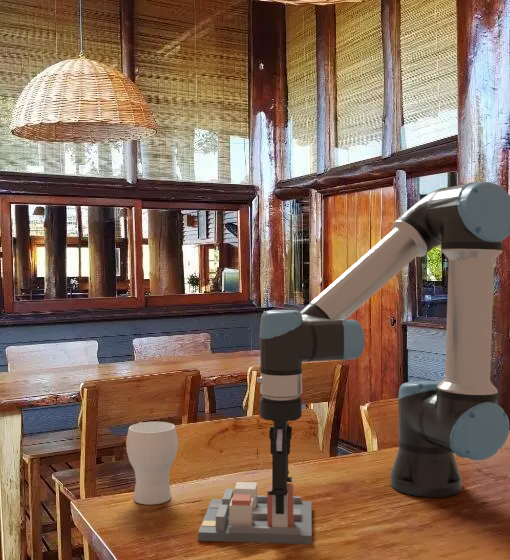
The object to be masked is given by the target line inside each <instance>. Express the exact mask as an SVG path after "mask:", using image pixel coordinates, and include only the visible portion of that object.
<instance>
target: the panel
mask: <svg viewBox="0 0 510 560" xmlns="http://www.w3.org/2000/svg"><path fill="white" fill-rule="evenodd" d="M234 494H235V491H234V488H225V490H224V493H223V496H222V498H211V500H210V502H209V505H208V508H207V510H206V511H205V515H204V517H203V519H202V522H201V524H200V527H199V529H198V531H197V540H198V541H199V542H227V543H229V542H231V543H256V544H257V543H258V544H259V543H263V544H288V545H289V544H293V545H294V544H295V545H297V544H298V545H312V544H313V543H312V541H313V540H312V539H313V538H312V534H313V533H312V530H313V529H312V528H313V527H312V524H313V523H312V500H309V501H308V500H302V496H295V495H293V527H267V495H258V494H257V505H256V508H253V524H252V526H232V525H230V526H229V505H230V502H231V499H232V498H233V495H234Z"/></svg>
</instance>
